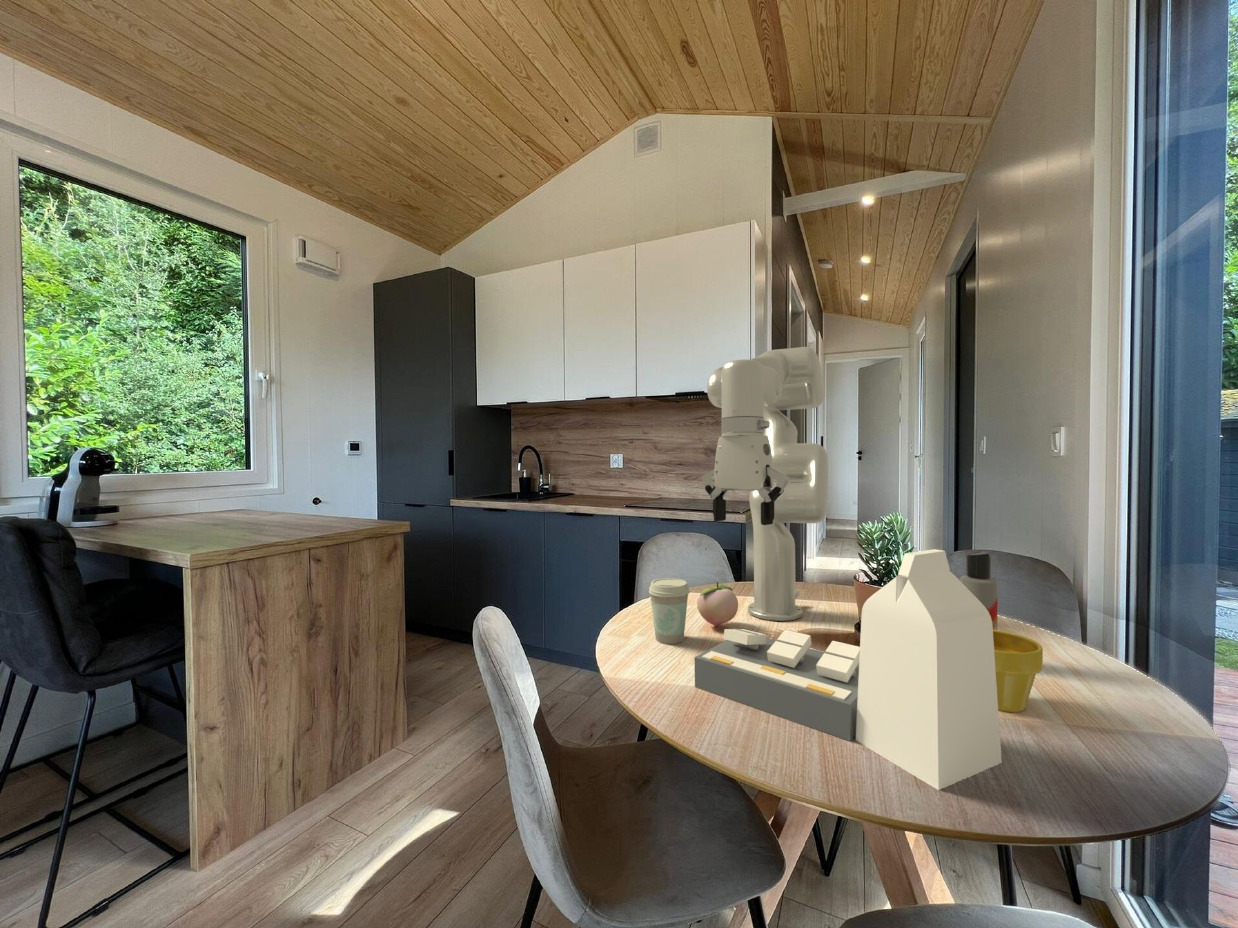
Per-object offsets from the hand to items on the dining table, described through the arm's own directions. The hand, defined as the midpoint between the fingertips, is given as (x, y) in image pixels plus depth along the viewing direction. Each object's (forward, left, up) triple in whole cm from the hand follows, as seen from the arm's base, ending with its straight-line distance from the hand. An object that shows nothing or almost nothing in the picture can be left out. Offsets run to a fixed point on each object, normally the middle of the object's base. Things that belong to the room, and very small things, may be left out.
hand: (742, 522), depth 95 cm
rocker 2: (+4, +11, -19) cm, 22 cm away
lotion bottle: (-30, +32, -27) cm, 51 cm away
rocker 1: (+4, +3, -19) cm, 20 cm away
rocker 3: (+4, +19, -19) cm, 27 cm away
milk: (+9, +31, -27) cm, 42 cm away
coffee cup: (-2, -18, -27) cm, 32 cm away
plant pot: (-13, +37, -27) cm, 47 cm away
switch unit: (+5, +11, -26) cm, 29 cm away
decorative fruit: (-15, -14, -27) cm, 34 cm away
